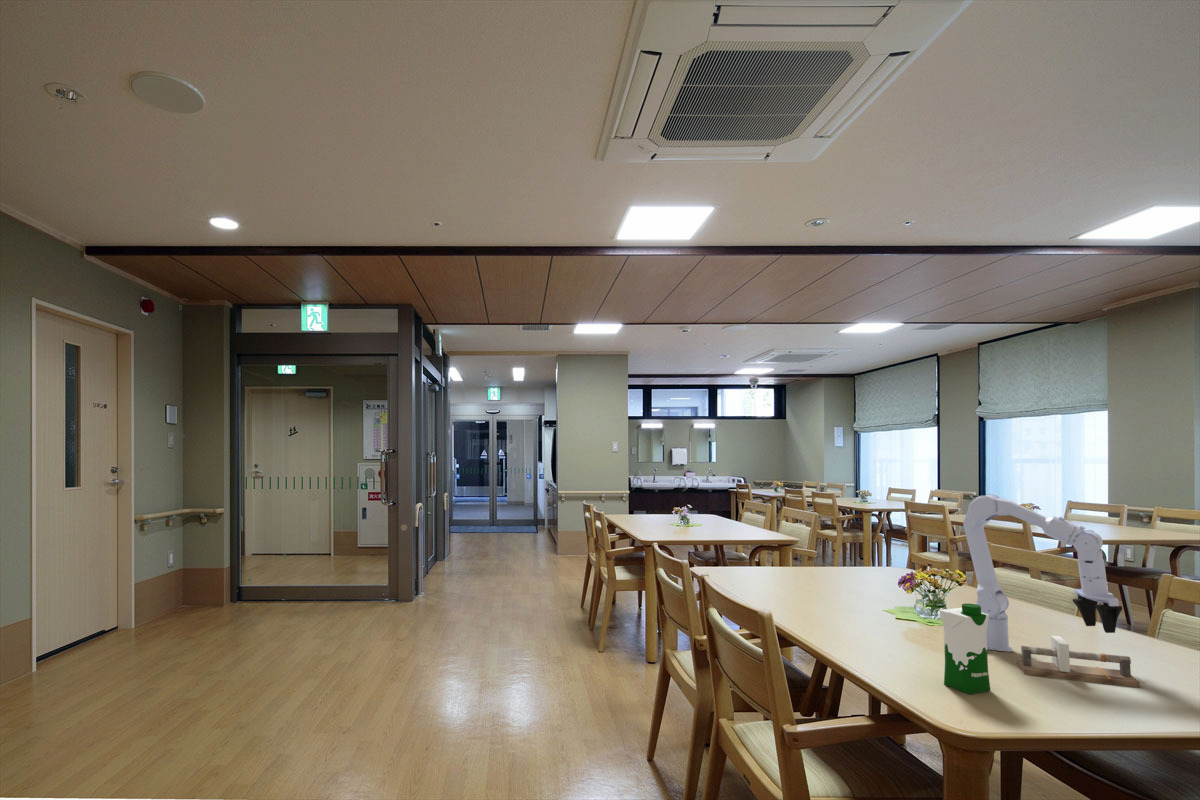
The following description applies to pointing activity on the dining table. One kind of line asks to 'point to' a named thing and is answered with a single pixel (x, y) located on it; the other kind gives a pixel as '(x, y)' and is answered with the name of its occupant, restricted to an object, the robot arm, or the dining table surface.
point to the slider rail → (1078, 667)
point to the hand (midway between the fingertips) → (1100, 629)
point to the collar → (1061, 653)
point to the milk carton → (966, 648)
